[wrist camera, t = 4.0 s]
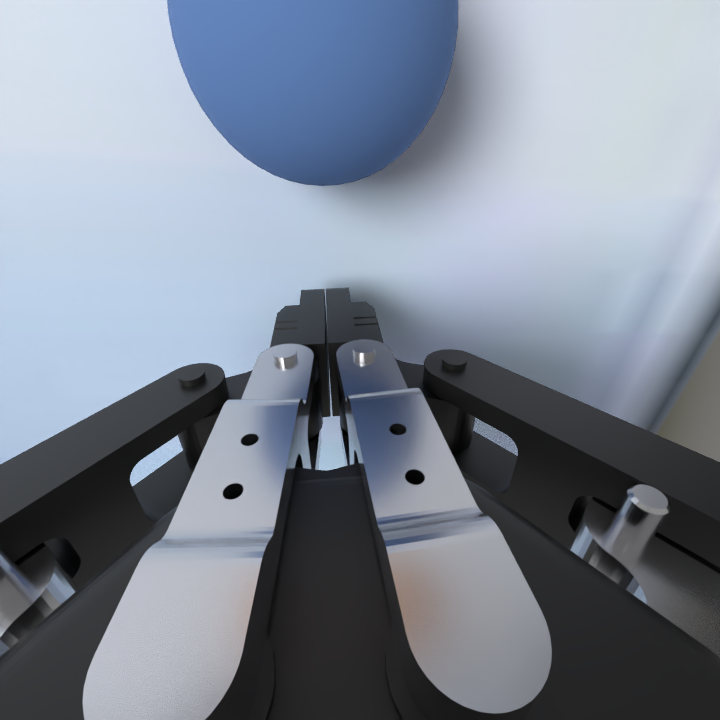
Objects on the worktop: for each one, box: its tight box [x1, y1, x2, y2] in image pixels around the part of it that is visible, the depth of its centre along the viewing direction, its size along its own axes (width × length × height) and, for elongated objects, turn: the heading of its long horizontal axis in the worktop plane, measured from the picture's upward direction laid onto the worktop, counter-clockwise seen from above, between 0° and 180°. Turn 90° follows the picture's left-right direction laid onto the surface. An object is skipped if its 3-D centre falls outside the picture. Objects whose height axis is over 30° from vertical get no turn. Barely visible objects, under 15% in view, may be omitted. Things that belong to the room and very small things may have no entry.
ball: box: [167, 0, 458, 186], centre depth 8 cm, size 6×6×6 cm
